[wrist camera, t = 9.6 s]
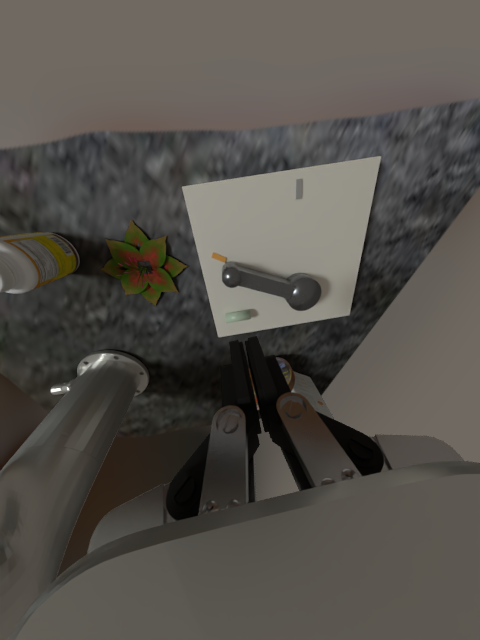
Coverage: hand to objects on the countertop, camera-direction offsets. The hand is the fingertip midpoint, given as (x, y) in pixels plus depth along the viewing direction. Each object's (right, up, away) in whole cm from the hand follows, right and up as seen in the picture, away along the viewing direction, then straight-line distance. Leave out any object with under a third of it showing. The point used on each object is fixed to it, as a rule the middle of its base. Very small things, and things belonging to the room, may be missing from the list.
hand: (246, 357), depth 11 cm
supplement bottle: (-26, +12, +14) cm, 32 cm away
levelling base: (+6, +12, +18) cm, 22 cm away
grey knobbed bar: (+4, +8, +17) cm, 19 cm away
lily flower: (-15, +11, +17) cm, 25 cm away
